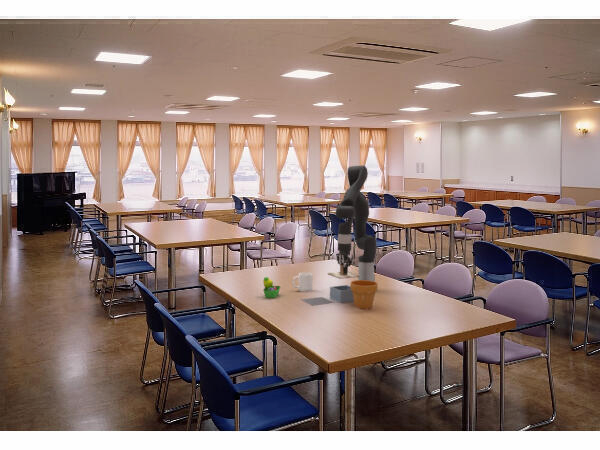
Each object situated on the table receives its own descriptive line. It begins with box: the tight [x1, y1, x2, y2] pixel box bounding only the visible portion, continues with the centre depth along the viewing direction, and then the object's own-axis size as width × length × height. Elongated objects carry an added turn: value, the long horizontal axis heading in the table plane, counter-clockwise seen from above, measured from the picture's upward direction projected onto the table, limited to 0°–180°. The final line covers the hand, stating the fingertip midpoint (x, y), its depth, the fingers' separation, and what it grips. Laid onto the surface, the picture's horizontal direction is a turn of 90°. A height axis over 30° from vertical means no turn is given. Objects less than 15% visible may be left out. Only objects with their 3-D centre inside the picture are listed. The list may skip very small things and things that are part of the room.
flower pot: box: [350, 279, 378, 310], centre depth 281 cm, size 14×14×13 cm
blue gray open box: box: [329, 284, 354, 304], centre depth 295 cm, size 11×11×7 cm
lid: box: [327, 265, 360, 280], centre depth 293 cm, size 13×13×6 cm
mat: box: [300, 296, 336, 307], centre depth 291 cm, size 14×14×1 cm
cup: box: [292, 272, 313, 293], centre depth 316 cm, size 8×12×10 cm
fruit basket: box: [262, 276, 281, 299], centre depth 301 cm, size 11×9×11 cm
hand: (343, 272), depth 293 cm, fingers closed on lid, 3 cm apart
